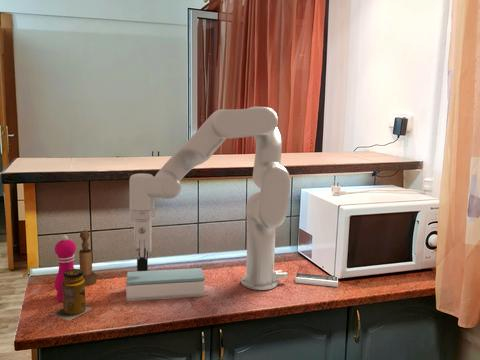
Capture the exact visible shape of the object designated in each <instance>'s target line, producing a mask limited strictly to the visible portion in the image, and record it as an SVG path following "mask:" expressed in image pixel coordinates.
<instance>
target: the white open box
mask: <svg viewBox="0 0 480 360" xmlns="http://www.w3.org/2000/svg"><path fill="white" fill-rule="evenodd" d="M205 283H206V282H205V280H202V281H184V282H167V283H149V284H132V285H126V284H125V285H126V286H125V287H126V289H125V290H126V292H125V294H126V298H125V299H126V302H133V301H134V302H137V301H151V300H152V301H153V300H155V301H156V300H166V299H169V300H170V299H184V298H198V297H205V287H206V286H205Z"/></svg>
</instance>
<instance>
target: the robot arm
mask: <svg viewBox="0 0 480 360" xmlns="http://www.w3.org/2000/svg"><path fill="white" fill-rule="evenodd" d="M278 118H279V117H278V115H277V112H276V111H275V110H274V109H273V108H271V107H267V106H250V107H249V108H238V109H226V108H225V109H223V108H222V109H217V110H215V111H214V112H212V114H210V116H209V117H208V118H207V119H206V120H205V121H204V122H203V124H202V125H201V126H199V128H198V129H197V130H196V131H195V133H194V134H192V136H191V137H190V138H189V139H188V140H187V141H186V143H184V144H182V146H181V147H180V148H179V149H178V150H177V151H176V152H175V153H174V154H173V155H172V156H171V157H170V158H169V159H168V160H167V161H166V163H164V165H163V166H162V167H161V168H160V169H159V170H158V171H157V173H156V174H155V176H154V175H153V174H151V173H144V172H143V173H135V174H132V175H130V177H129V182H128V183H129V220H131V221H133V238H134V239H133V241H134V242H133V243H134V251H135V253H137V258H136V271H149V270H148V256H147V255H148V253H151V252H152V242H153V241H152V238H153V237H152V235H153V234H152V231H153V229H152V221H153V220H155V219H156V217H155V215H156V214H155V211H156V210H155V207H156V206H155V204H156V203H155V200H156V199H161V200H172V199H175V198H177V197H178V196H179V195H180V193H181V190H182V186H181V181H182V180H183V178H184V177H185V176H186V175H187V174H188V173H189V172H190V171H191V170H193V169H194V168H195V167H198V166H199V165H203V164H204V163H205V162H207V161H208V160H209V159H210V158H211V157H212V155H214V153H216V151H218V148H220V147H221V145H222V144H223V143H225V141H226V139H240V138H241V139H242V138H250V137H251V138H252V137H253V139H254V142H255V151H254V152H255V153H254V161H253V170H252V180H253V183H254V185H255V186H257V187H258V188H259V189H260V190H259V191H260V192H255V193H253V194H252V195H251V196H249V198H248V199H247V202H246V205H245V206H246V209H245V214H246V223H247V225H246V227H247V229H246V231H247V235H246V261H245V262H246V267H245V268H246V269H245V275H243V276H242V277H241V280H240V282H241V285H243V286H244V287H245V288H248V289H251V290H254V291H255V290H256V291H268V290H271V289H274V288H276V287H277V286H278V283H279V279H287V278H288V272H287V271H285V272H283V271H282V270H281V269H280V270H275V254H276V252H275V250H276V249H275V248H276V228H278V227H280V226H281V225H282V224H283V223H284V222H285V220H286V218H287V214H288V206H289V199H290V191H291V176H290V173H289V171H288V170H287V168H286V167H284V166H283V165H281V164H282V163H281V162H282V161H281V160H282V143H283V142H282V136H281V133H280V130H279V129H278V124H279V119H278Z"/></svg>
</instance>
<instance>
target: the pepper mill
mask: <svg viewBox="0 0 480 360" xmlns="http://www.w3.org/2000/svg"><path fill="white" fill-rule="evenodd" d="M76 246H77V245H76V243H75V242H74V241H73V240H71V239H69V237H68V235H66V234H65V235H64V234H63V235H62V236H61V240H59V241H58V242H56V244H55V246H54V253H55V255H57V256H56V262H58V272H57V274H56V276H55V280H54V282H53V283H54V286H53V287H54V289H55V291H57V292H56V293H55V294H56V300H57V301H59V302H61V303H63V289H62V282H63V278H64V276H63V274H64V272H65V271H67V270H71V269H75V267H74V261H75V256H76V255H75V253H76V250H77V247H76Z"/></svg>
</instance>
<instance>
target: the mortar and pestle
mask: <svg viewBox="0 0 480 360" xmlns="http://www.w3.org/2000/svg"><path fill="white" fill-rule="evenodd" d="M90 236H91V235H90V231H88V230H85V229H84V230H82V231H80V234H79V237H80V239H81V240H82V243H81V248H82V249H80V250H79V255H78V256H79V269H80V270H82V271H83V279H84V280H85V287H89V286H92V285H95V284H96V283H97V273H95V272H94V271H93V250H92V249H90V248H89V247H90V246H89V245H90V244H89V242H88V240H89V238H90Z"/></svg>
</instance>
